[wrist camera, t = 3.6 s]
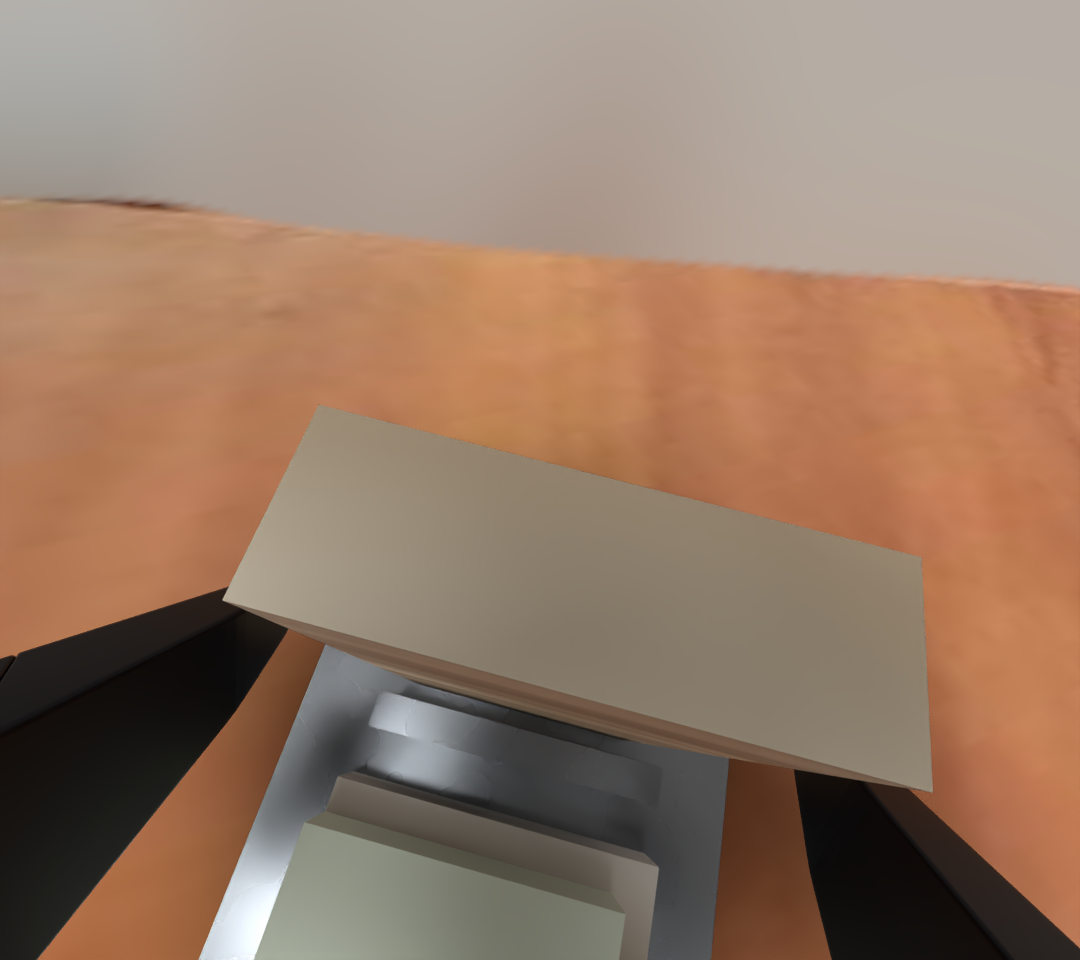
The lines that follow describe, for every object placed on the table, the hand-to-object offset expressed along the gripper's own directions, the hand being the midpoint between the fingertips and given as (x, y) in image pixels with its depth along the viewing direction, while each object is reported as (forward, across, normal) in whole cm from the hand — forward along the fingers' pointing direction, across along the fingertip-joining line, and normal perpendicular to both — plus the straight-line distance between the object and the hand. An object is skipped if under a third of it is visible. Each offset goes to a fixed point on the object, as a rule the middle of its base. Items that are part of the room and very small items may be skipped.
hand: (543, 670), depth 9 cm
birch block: (+5, 0, +5) cm, 7 cm away
